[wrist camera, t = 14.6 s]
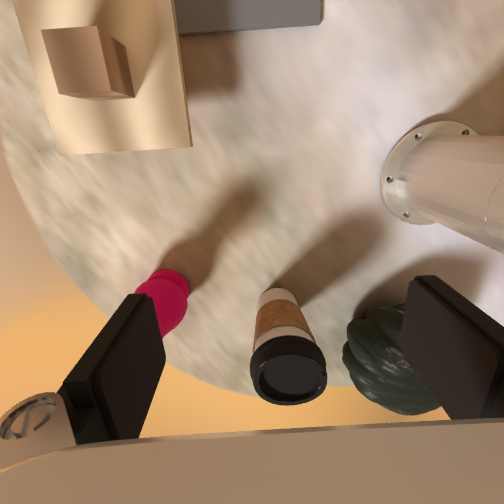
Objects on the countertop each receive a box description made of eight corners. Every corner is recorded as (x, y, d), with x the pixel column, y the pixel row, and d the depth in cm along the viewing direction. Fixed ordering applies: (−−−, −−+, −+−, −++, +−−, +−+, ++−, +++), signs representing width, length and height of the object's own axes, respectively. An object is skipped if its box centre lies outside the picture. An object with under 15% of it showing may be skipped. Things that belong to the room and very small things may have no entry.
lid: (171, -18, 24) (147, -66, 18) (192, 146, 29) (179, 149, 23) (18, -7, 24) (-53, -51, 18) (66, 154, 29) (22, 159, 23)
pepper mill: (138, 268, 41) (47, 380, 22) (187, 263, 41) (137, 372, 22) (150, 310, 44) (78, 441, 25) (196, 306, 43) (158, 434, 25)
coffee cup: (311, 316, 44) (340, 399, 31) (261, 333, 46) (267, 421, 32) (293, 272, 41) (317, 341, 28) (240, 291, 42) (237, 368, 29)
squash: (331, 402, 44) (443, 469, 33) (319, 321, 39) (446, 369, 28) (375, 349, 52) (476, 389, 41) (369, 277, 47) (484, 300, 36)
